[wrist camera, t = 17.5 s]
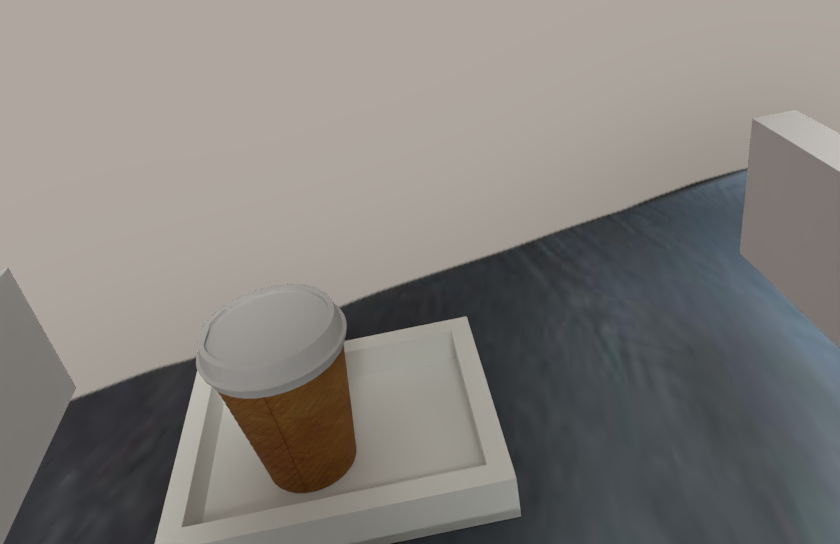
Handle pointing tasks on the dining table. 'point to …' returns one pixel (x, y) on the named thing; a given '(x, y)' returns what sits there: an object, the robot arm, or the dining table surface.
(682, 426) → the dining table surface
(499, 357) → the dining table surface
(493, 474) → the tray
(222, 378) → the disposable coffee cup
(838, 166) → the robot arm
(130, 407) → the dining table surface
